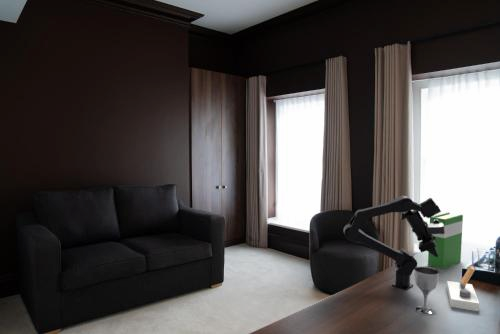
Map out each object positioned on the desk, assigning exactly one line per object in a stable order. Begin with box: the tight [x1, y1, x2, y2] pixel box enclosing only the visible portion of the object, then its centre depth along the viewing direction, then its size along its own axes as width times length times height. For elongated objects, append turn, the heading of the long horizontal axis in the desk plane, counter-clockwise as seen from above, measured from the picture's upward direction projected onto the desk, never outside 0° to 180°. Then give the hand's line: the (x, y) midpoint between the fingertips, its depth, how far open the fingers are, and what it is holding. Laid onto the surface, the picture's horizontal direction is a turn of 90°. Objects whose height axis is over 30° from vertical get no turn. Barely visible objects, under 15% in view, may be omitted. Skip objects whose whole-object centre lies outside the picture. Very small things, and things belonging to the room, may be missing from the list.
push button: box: [460, 290, 471, 298], centre depth 141 cm, size 4×4×1 cm
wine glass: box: [414, 266, 440, 316], centre depth 135 cm, size 8×8×15 cm
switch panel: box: [446, 280, 480, 312], centre depth 146 cm, size 9×19×3 cm, turn 157°
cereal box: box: [427, 212, 464, 270], centre depth 186 cm, size 18×7×24 cm, turn 126°
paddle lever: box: [459, 265, 476, 289], centre depth 149 cm, size 2×4×9 cm, turn 158°
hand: (437, 256), depth 155 cm, fingers closed
